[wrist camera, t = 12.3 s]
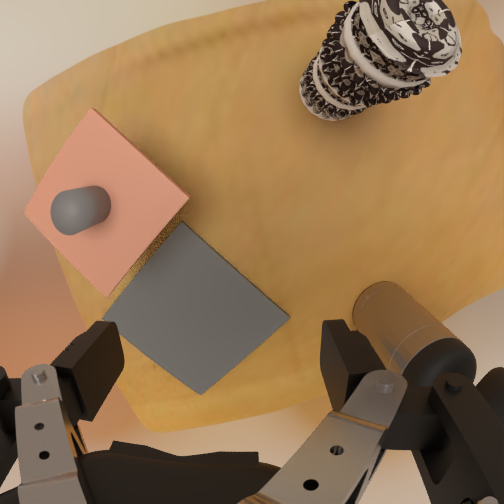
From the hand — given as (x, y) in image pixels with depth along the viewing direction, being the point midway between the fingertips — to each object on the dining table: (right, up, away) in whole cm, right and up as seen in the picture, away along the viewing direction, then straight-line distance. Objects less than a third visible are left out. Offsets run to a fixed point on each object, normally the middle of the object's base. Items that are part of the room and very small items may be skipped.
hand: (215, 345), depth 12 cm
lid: (-13, +8, +16) cm, 22 cm away
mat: (-7, -6, +34) cm, 35 cm away
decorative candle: (+12, +25, +26) cm, 38 cm away
